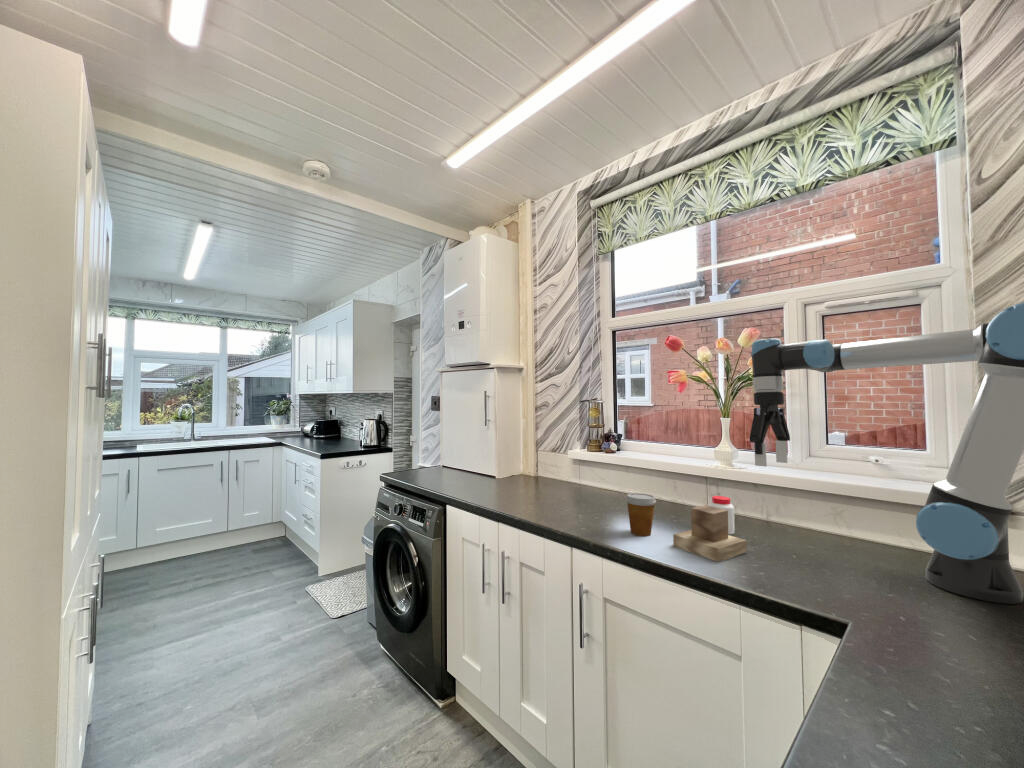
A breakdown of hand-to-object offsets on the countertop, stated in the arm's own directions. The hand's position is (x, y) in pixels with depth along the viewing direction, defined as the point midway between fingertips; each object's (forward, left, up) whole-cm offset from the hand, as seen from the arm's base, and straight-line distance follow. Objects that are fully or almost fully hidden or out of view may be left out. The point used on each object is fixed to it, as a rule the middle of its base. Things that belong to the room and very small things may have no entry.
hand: (771, 464), depth 119 cm
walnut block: (+11, +14, -22) cm, 28 cm away
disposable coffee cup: (+31, +20, -25) cm, 45 cm away
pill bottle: (+19, -6, -25) cm, 32 cm away
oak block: (+11, +14, -26) cm, 31 cm away
